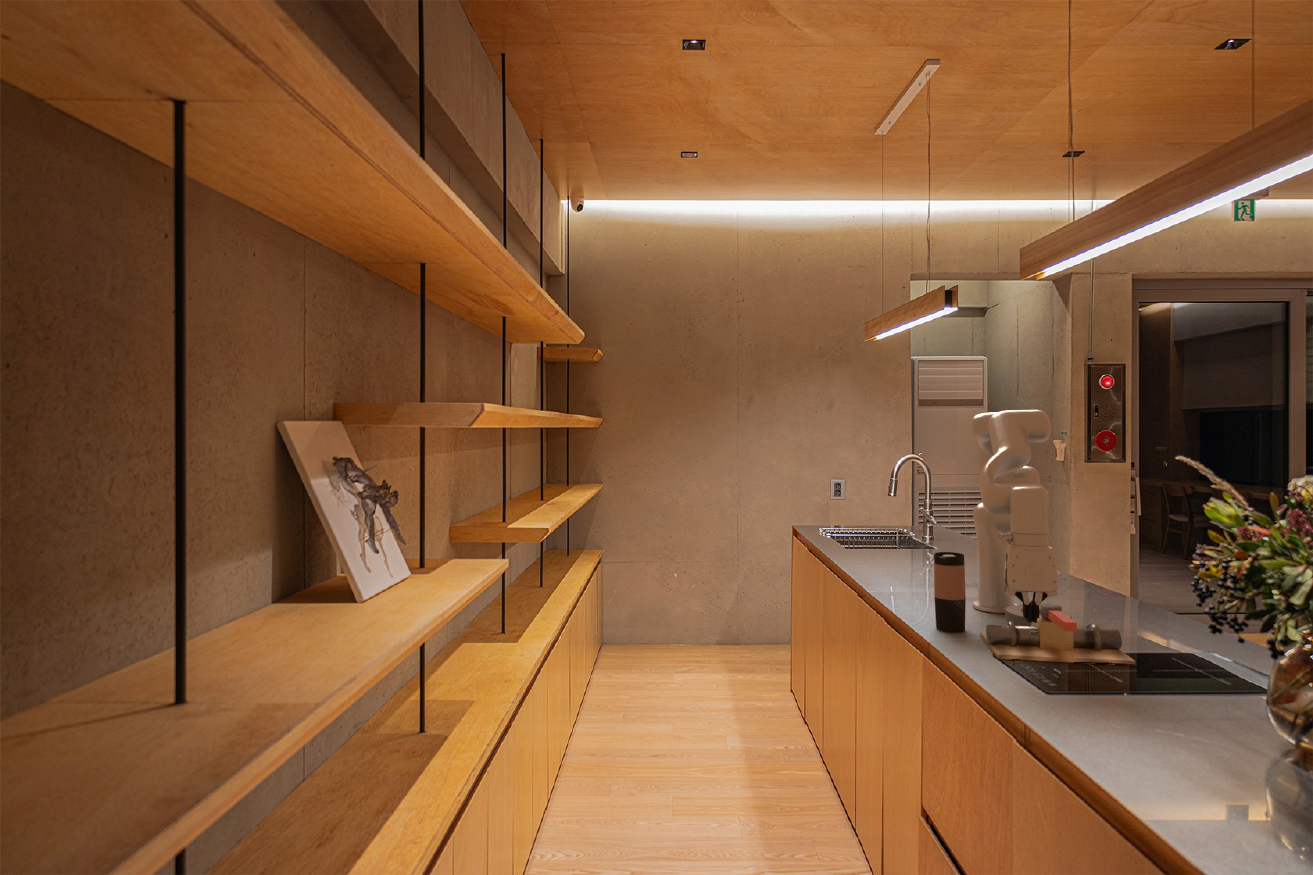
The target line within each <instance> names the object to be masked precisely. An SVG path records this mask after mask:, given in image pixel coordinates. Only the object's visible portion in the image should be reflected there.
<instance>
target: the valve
mask: <svg viewBox="0 0 1313 875" xmlns="http://www.w3.org/2000/svg"><path fill="white" fill-rule="evenodd" d="M985 633H986V636H987V641H988V643H990V644H1009V645H1010V646H1011V647H1016V646H1017V645H1036V646H1037V647H1038V648H1039V649H1040V650H1062V651H1074V649H1073V647H1082V648H1092V649H1094V650H1095V651H1101V649H1102V648H1104V649H1119V650H1120V649H1121V648H1122V644H1123V641H1122V640H1123V639H1122V635H1121V633H1120V630H1118V629H1112V628H1110V629H1109V628H1100V627H1099V626H1098V625H1097V624H1095V623H1094V624H1093V623H1092V624H1090V623H1089V624H1087V626H1086V627H1085V628H1083V627H1082V628H1081V627H1077V632H1069V631H1064V630H1062V629H1061V628H1060V627H1059V626H1057V625H1056V624H1055V623H1054V622H1052V621H1051V620H1050V619H1045V618H1042V617H1041V615H1039V618H1037V623H1034V622H1032V623H1031V626H1015V624H1014V622H1013V621H1006V622H1005V621H1004V625H1003V624H987V625H986V628H985Z"/></svg>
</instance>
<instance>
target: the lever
mask: <svg viewBox="0 0 1313 875" xmlns="http://www.w3.org/2000/svg"><path fill="white" fill-rule="evenodd" d="M1040 606H1041V617H1042V618H1045V619H1050V620H1051V621H1052V622H1054V623H1055V624H1056V625H1057V626H1059V627H1060V628H1061V629H1062V630H1064V631H1069V632H1077V628H1078V627H1077V626H1078V624H1077V623H1078V622H1077V621H1075V620H1074V619H1073V618H1072V619H1071V618H1069V617H1068V616H1067V615H1065V614H1064V613H1063V612H1062V610H1063V607H1062V606H1061V605H1057V604H1051V603H1050V604H1049V603H1044V604H1043V603H1042V604H1040Z"/></svg>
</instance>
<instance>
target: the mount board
mask: <svg viewBox="0 0 1313 875" xmlns="http://www.w3.org/2000/svg"><path fill="white" fill-rule="evenodd" d="M979 637H980V639H981V640H982V642H984V643H985V645H986V646H987V647H988V648H989V650H990V651H991V652H992V654H994V656H995V657H996V658H997V659H998V660H1012V659H1020V660H1019V661H1033V660H1034V661H1033V662H1035V661H1037V662H1055V663H1056V662H1058V663H1074V662H1109V663H1111V662H1112V663H1127V664H1135V665H1136V660H1134V659H1133V658H1132V657H1130V656H1129V655H1127V654H1126V653H1125V652H1123V651H1122V650H1120V649H1104V648H1102V649H1101V651H1095V650H1094V649H1092V648H1082V647H1073V649H1074V651H1062V650H1040V649H1039V648H1038V647H1037V646H1036V645H1017V646H1016V647H1011V646H1010V645H1009V644H990V643H988V641H987V636H986V632H979Z"/></svg>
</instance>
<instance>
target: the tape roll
mask: <svg viewBox="0 0 1313 875" xmlns="http://www.w3.org/2000/svg"><path fill="white" fill-rule="evenodd" d="M1062 612H1063V613H1064V614H1065V615H1067V616H1068V617H1069V618H1071V619H1072V620H1073V618H1072V615H1071V613H1069V612H1067V611H1065V610H1063V609H1062ZM1004 614H1005V615H1004V623H1005V622H1006V621H1013V622H1014V624H1015V626H1031V623H1029V622H1028V621H1027V620H1026V619H1025V618H1024V617H1023V604H1018V605H1013V606H1008V607H1006V608H1005V613H1004ZM1039 615H1041V605H1039Z"/></svg>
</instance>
